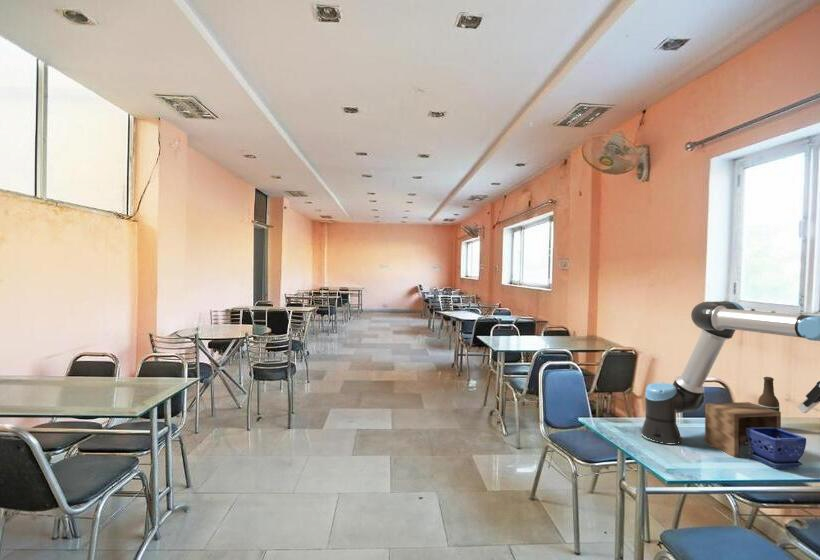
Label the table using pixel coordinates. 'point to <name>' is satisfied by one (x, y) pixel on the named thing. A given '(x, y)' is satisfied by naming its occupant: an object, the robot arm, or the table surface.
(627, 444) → the table surface
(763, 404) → the beer bottle
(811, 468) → the table surface
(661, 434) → the robot arm
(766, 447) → the flower pot
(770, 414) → the shelf
